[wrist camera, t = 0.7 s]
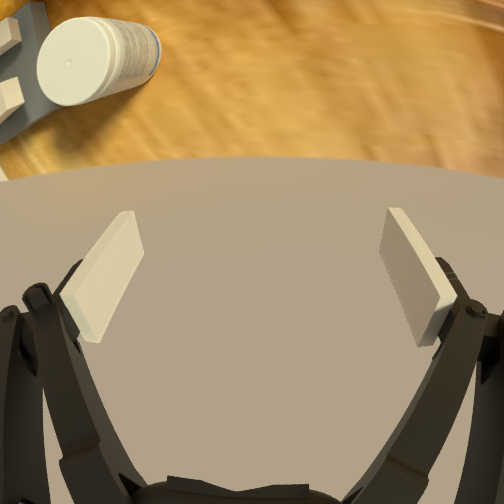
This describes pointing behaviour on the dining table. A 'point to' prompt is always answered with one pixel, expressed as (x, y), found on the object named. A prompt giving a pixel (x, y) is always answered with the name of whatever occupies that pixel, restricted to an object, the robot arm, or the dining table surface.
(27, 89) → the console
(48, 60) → the supplement tub
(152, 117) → the dining table surface
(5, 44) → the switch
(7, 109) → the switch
